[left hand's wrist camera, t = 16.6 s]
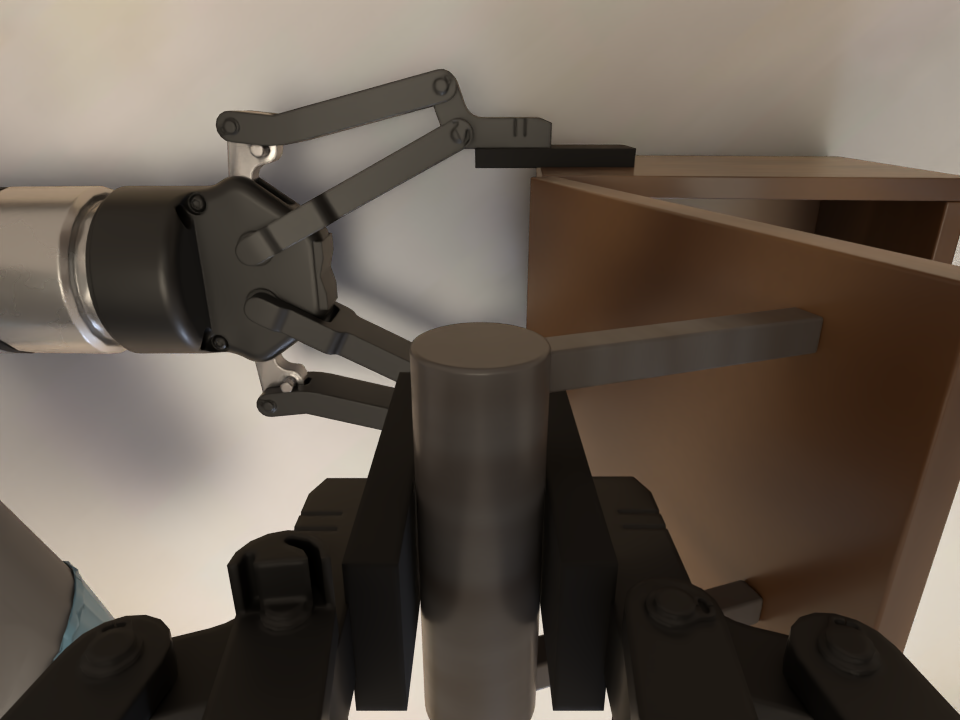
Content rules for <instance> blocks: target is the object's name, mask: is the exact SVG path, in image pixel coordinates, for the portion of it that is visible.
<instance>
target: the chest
mask: <svg viewBox="0 0 960 720" xmlns="http://www.w3.org/2000/svg"><path fill="white" fill-rule="evenodd" d="M548 176H555V177H559V178H564V179H568V180H573V181H577V182H582V183H586V184H591V185H595V186H600V187H604V188H609V189H613V190H618V191H622V192H627V193H631V194H636V195H640V196H645V197H649V198H654V199H658V200H663V201H667V202H672V203H676V204H681V205H685V206H690V207H694V208H699V209H703V210H708V211H712V212H717V213H721V214H726V215H730V216H735V217H739V218H744V219H748V220H753V221H757V222H762V223H766V224H771V225H775V226H780V227H784V228H789V229H793V230H798V231H802V232H807V233H811V234H816V235H820V236H825V237H829V238H834V239H838V240H843V241H847V242H852V243H856V244H861V245H865V246H870V247H874V248H879V249H883V250H888V251H892V252H897V253H901V254H906V255H910V256H915V257H919V258H924V259H928V260H933V261H938V262H942V263H947V264H952V261H953V257H954V254H955V250H956V247H957V243H958V240H959V236H960V176H959V175H953V174H947V173H940V172H934V171H927V170H921V169H915V168H908V167H902V166H895V165H889V164H883V163H876V162H870V161H863V160H857V159H851V158H844V157H835V156H640V155H635V165H634V167H541V168H536V177H548Z"/></svg>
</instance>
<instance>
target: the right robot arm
mask: <svg viewBox="0 0 960 720" xmlns="http://www.w3.org/2000/svg"><path fill="white" fill-rule="evenodd" d="M433 106H434V109H435V112H436V114H437V117H438V120H439V122H440V125H441V126H440V127H438V128H437V129H435V130H433V131H431V132H430V133H428V134H426V135H424V136H422V137H421V138H419V139H417V140H415V141H414V142H412V143H410V144H408V145H407V146H405V147H403V148H401V149H400V150H398V151H396V152H394V153H393V154H391V155H389V156H387V157H386V158H384V159H382V160H380V161H379V162H377V163H375V164H373V165H372V166H370V167H368V168H366V169H365V170H363V171H361V172H359V173H358V174H356V175H354V176H352V177H351V178H349V179H347V180H345V181H344V182H342V183H340V184H338V185H337V186H335V187H333V188H331V189H330V190H328V191H326V192H324V193H323V194H321V195H319V196H317V197H315V198H314V199H312V200H310V201H308V202H307V203H305V204H303V205H299V204H298V203H296V202H295V201H293V200H292V199H290V198H289V197H288V196H286V195H285V194H283V193H282V192H280V191H279V190H277V189H276V188H274V187H273V186H271V185H270V184H268V183H267V182H266V181H264V180H263V179H261V178H259V171H260V169H261V167H262V166H263V165H264V164H267V163H272V162H275V161H277V160H279V158H280V157H281V156H282V153H283V145H287V144H292V143H298V142H303V141H307V140H312V139H315V138H319V137H323V136H326V135H330V134H334V133H337V132H341V131H345V130H348V129H352V128H356V127H359V126H363V125H367V124H370V123H374V122H378V121H381V120H385V119H389V118H392V117H396V116H400V115H403V114H407V113H411V112H414V111H418V110H422V109H425V108H429V107H433ZM216 128H217V132H218V133H219V135H220V136H221V137H222V138H223V139H224V140H226V141H227V146H228V169H229V177H227V178H225V179H223V180H222V181H220V182H219V183H217V184H215V185H212V186H124V187H120V188H117V189H116V190H113V189H109V188H106V187H103V186H36V187H0V353H94V354H113V353H122V352H124V351H126V350H129V351H132V352H135V353H216V352H231V353H235V354H238V355H241V356H243V357H245V358H247V359H249V360H252V361H255V363H256V367H257V371H258V375H259V378H260V382H261V386H262V390H263V393H262V394H261V396H260V397H259V398H258V400H257V408H258V410H259V412H261V413H262V414H263V415H265V416H268V417H275V416H286V415H296V414H311V415H315V416H320V417H324V418H329V419H333V420H338V421H343V422H347V423H352V424H356V425H361V426H365V427H370V428H374V429H379V430H382V428H383V425H384V422H385V418H386V415H387V412H388V408H389V405H390V402H391V399H392V395H393V392H394V389H395V388H392V387H388V386H384V385H379V384H375V383H370V382H366V381H361V380H357V379H352V378H348V377H344V376H339V375H335V374H330V373H324V372H307V370H306V369H305V367H304V366H303V365H302V364H296V363H291V362H288V361H287V360H285V359H284V358H283V356H282V354H281V353H282V352H284V351H285V350H286V349H288V348H289V347H291V346H292V345H293V344H295V343H296V342H297V341H300V342H302V343H304V344H306V345H308V346H310V347H312V348H315V349H317V350H319V351H321V352H323V353H326V354H330V355H332V354H337V355H340V356H342V357H345V358H347V359H349V360H351V361H353V362H355V363H357V364H360V365H362V366H364V367H366V368H368V369H370V370H372V371H374V372H377V373H379V374H381V375H383V376H385V377H387V378H389V379H391V380H394V381H396V382H397V379H398V375H399V372H410V346H411V344H412V342H410V341H408V340H406V339H404V338H402V337H400V336H398V335H395V334H393V333H391V332H389V331H387V330H385V329H383V328H381V327H379V326H377V325H375V324H373V323H371V322H369V321H366V320H364V319H362V318H360V317H359V316H357V315H356V314H355V312H354V311H353V310H351V309H350V308H348V307H346V306H344V305H342V304H340V303H338V302H335V300H336V299H337V298H338V296H337V285H336V280H335V277H334V275H333V272H332V269H331V260H332V254H333V240H332V233H328V231H327V229H326V226H328V225H329V224H331V223H333V222H334V221H336V220H338V219H339V218H341V217H343V216H345V215H346V214H348V213H350V212H352V211H354V210H355V209H357V208H359V207H361V206H363V205H364V204H366V203H368V202H370V201H371V200H373V199H375V198H377V197H379V196H380V195H382V194H384V193H386V192H388V191H389V190H391V189H393V188H395V187H397V186H398V185H400V184H402V183H404V182H405V181H407V180H409V179H411V178H413V177H414V176H416V175H418V174H420V173H422V172H423V171H425V170H427V169H429V168H431V167H432V166H434V165H436V164H438V163H439V162H441V161H443V160H445V159H447V158H448V157H450V156H452V155H454V154H456V153H457V152H459V151H461V150H463V149H475V168H541V167H634V165H635V153H636V148H632V147H629V146H625V145H551V131H552V123H551V122H548V121H546V120H544V119H541V118H538V117H478V116H475V115H473V114H472V113H471V112H470V111H469V110H468V109H467V107H466V105H465V102H464V100H463V97H462V94H461V91H460V88H459V85H458V82H457V80H456V78H455V77H454V76H453V75H452V74H451V73H450V72H449V71H447V70H444V69H438V70H434V71H430V72H427V73H423V74H420V75H416V76H412V77H409V78H405V79H402V80H398V81H394V82H391V83H387V84H384V85H380V86H376V87H373V88H369V89H366V90H362V91H358V92H355V93H351V94H348V95H344V96H340V97H337V98H333V99H330V100H326V101H322V102H319V103H315V104H312V105H308V106H304V107H301V108H297V109H294V110H290V111H287V112H283V113H279V114H278V113H269V112H259V111H224V112H223V113H221V114H220V115H219V116H218V118H217V121H216ZM110 620H114V618H113V616H112V615H111V614H110V613H109V611H108V610H107V609H106V608H105V606H104V605H103V604H102V603H101V601H100V600H99V599H98V598H97V596H96V595H95V594H94V593H93V592H92V590H91V589H90V588H89V587H88V585H87V584H86V583H85V582H84V580H83V579H82V577H81V575H80V574H79V572H78V569H76V568H75V567H73V566H72V565H71V563H70V562H69V561H62V560H61V559H60V558H59V557H58V556H57V555H56V554H55V553H53V552H52V551H51V550H50V549H49V548H48V547H47V546H46V545H45V544H44V543H43V542H42V541H41V540H40V539H39V538H38V537H37V536H36V535H35V534H34V533H33V532H32V531H31V530H30V529H29V528H28V527H27V526H26V525H25V524H24V523H23V522H22V521H21V520H20V519H19V518H18V517H17V516H16V515H15V514H14V513H13V512H12V511H11V510H9V509H8V508H7V507H6V506H5V505H4V504H3V503H2V502H1V501H0V719H1V718H2V716H3V715H4V714H5V713H6V712H7V711H8V710H9V709H10V708H11V707H12V706H13V705H14V703H15V702H16V701H17V700H18V699H19V698H20V697H21V696H22V695H23V694H24V693H25V692H26V690H27V689H28V688H29V687H30V686H31V685H32V684H33V683H34V682H35V681H36V680H37V679H38V678H39V676H40V675H41V674H42V673H43V672H44V671H45V670H46V669H47V668H48V667H49V666H50V665H51V663H52V662H53V661H54V660H55V659H56V658H57V657H58V656H59V655H60V654H61V653H62V652H63V651H64V649H65V648H67V647H68V646H69V645H70V644H71V643H72V642H74V641H75V640H76V639H77V638H78V637H80V636H81V635H82V634H83V633H85V632H87V631H89V630H91V629H93V628H95V627H96V626H98V625H100V624H102V623H104V622H107V621H110Z"/></svg>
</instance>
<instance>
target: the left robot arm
mask: <svg viewBox="0 0 960 720" xmlns="http://www.w3.org/2000/svg"><path fill="white" fill-rule="evenodd" d="M227 568H228V573H229V579H230V584H231V589H232V595H233V600H234V606H235V611H236V617H235V619H233V620H231V621H229V622H227V623H224V624H221V625H218V626H215V627H212V628H209V629H205V630H201V631H197V632H193V633H189V634H184V635H180V636H176V637H171V633H170V629H169V628H168V627H167V626H166V625H165V624H164V622H163V621H162V620H161V619H158V618H154V617H151V616H148V615H134V616H124V617H121V618H117V619H114V620H110V621H107V622H104V623H102V624H100V625H98V626H96V627H95V628H93V629H91V630H89V631H87V632H85V633H83V634H82V635H81V636H80V637H78V638H77V639H76V640H75V641H74V642H72V643H71V644H70V645H69V646H68V647H67V648H65V649H64V651H63V652H62V653H61V654H60V655H59V656H58V657H57V658H56V659H55V660H54V661H53V662H52V663H51V665H50V666H49V667H48V668H47V669H46V670H45V671H44V672H43V673H42V674H41V675H40V676H39V678H38V679H37V680H36V681H35V682H34V683H33V684H32V685H31V686H30V687H29V688H28V689H27V690H26V692H25V693H24V694H23V695H22V696H21V697H20V698H19V699H18V700H17V701H16V702H15V703H14V705H13V706H12V707H11V708H10V709H9V710H8V711H7V712H6V713H5V714H4V715H3V716H2V718H1V719H0V720H348V715H349V710H350V706H351V701H352V696H353V692H355V702H356V711H407V706H408V697H409V689H410V681H411V673H412V664H413V656H414V648H415V639H416V631H417V623H418V615H419V606H420V579H419V556H418V533H417V510H416V487H415V464H414V441H413V418H412V395H411V372H399V375H398V379H397V382H396V385H395V389H394V392H393V395H392V399H391V402H390V405H389V408H388V412H387V415H386V418H385V422H384V425H383V428H382V432H381V435H380V438H379V441H378V445H377V448H376V451H375V455H374V458H373V461H372V465H371V468H370V471H369V475H368V478H327V479H325V480H324V481H323V482H322V483H321V484H320V485H319V486H317V487H316V488H315V489H314V490H313V491H312V492H311V493H309V495H308V497H307V500H306V502H305V504H304V506H303V509H302V511H301V516H299V518H298V520H297V522H296V525H295V527H294V531H291V530H287V531H281V532H276V533H270V534H267V535H264V536H262V537H260V538H257V539H255V540H253V541H250V542H249V543H248V544H246V545H245V546H244V547H242V548H241V549H240V550H238V551H237V552H236V553H235V554H234V556H233V557H232V559H231V560H230V562H229V563H228V565H227ZM540 606H541V615H542V623H543V631H544V640H545V648H546V656H547V664H548V673H549V681H550V689H551V697H552V706H553V711H604V702H605V692H606V689H607V693H608V698H609V702H610V707H611V712H612V720H960V715H959V714H958V712H957V711H956V710H955V709H954V708H953V707H952V706H951V705H950V704H949V703H948V702H947V701H946V700H945V698H944V697H943V696H942V695H941V694H940V693H939V692H938V691H937V690H936V689H935V688H934V687H933V686H932V685H931V683H930V682H929V681H928V680H927V679H926V678H925V677H924V676H923V675H922V674H921V673H920V672H919V671H918V670H917V668H916V667H915V666H914V665H913V664H912V663H911V662H910V661H909V660H908V659H907V658H906V657H905V656H904V654H903V653H902V652H901V651H900V650H899V649H898V648H897V647H896V646H895V645H894V644H893V643H891V642H890V641H889V640H888V639H887V638H885V637H884V636H883V635H882V634H881V633H880V632H878V631H877V630H875V629H873V628H871V627H869V626H867V625H865V624H864V623H862V622H860V621H858V620H856V619H852V618H849V617H845V616H842V615H839V614H835V613H817V612H815V613H811V614H808V615H805V616H801V617H799V618H798V619H797V621H796V622H795V623H794V624H793V625H792V626H791V629H790V633H789V635H786V634H782V633H778V632H774V631H769V630H765V629H761V628H757V627H753V626H749V625H746V624H743V623H740V622H737V621H734V620H732V619H730V618H728V617H726V616H724V613H723V612H722V610H721V608H720V607H719V605H718V603H717V601H716V600H715V599H714V598H713V597H711V596H710V595H709V594H708V593H707V592H705V591H704V590H703V589H702V588H700V587H698V586H695V585H693V584H692V583H691V581H690V578H689V576H688V574H687V572H686V569H685V567H684V565H683V563H682V560H681V558H680V556H679V554H678V551H677V549H676V547H675V545H674V542H673V540H672V538H671V535H670V533H669V531H668V529H666V524H665V522H664V520H663V517H662V515H661V514H659V508H658V506H657V504H656V502H655V499H654V497H653V495H652V493H651V491H650V490H648V489H647V488H646V487H645V486H644V485H643V484H642V483H640V482H639V481H638V480H637V479H636V478H635V477H633V476H592V475H591V471H590V468H589V465H588V461H587V458H586V455H585V451H584V448H583V445H582V442H581V438H580V435H579V432H578V428H577V425H576V422H575V418H574V415H573V412H572V408H571V405H570V402H569V399H568V395H567V392H566V390H565V391H559V392H552V393H549V412H548V434H547V456H546V478H545V500H544V522H543V544H542V566H541V588H540Z"/></svg>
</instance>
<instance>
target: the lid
mask: <svg viewBox="0 0 960 720" xmlns="http://www.w3.org/2000/svg"><path fill="white" fill-rule="evenodd" d="M410 372H411V395H412V418H413V441H414V464H415V487H416V510H417V533H418V556H419V579H420V602H421V624H422V647H423V670H424V693H425V707H426V711H427V714H428V717H429V719H430V720H530V719H531V718H532V715H533V712H534V708H535V699H536V691H537V690H540V689H544V688H547V687H550V681H549V673H548V664H547V656H546V648H545V640H544V635H540V636H538V632H539V610H540V588H541V566H542V544H543V522H544V500H545V478H546V456H547V434H548V412H549V393H552V392H559V391H565V390H566V392H567V395H568V399H569V402H570V405H571V408H572V412H573V415H574V418H575V422H576V425H577V428H578V432H579V435H580V438H581V442H582V445H583V448H584V451H585V455H586V458H587V461H588V465H589V468H590V471H591V475H592V476H633V477H635V478H636V479H637V480H638V481H639V482H640V483H642V484H643V485H644V486H645V487H646V488H647V489H648V490H650V491H651V493H652V495H653V497H654V499H655V502H656V504H657V506H658V508H659V514H661V515H662V517H663V520H664V522H665V524H666V529H668V531H669V533H670V535H671V538H672V540H673V542H674V545H675V547H676V549H677V551H678V554H679V556H680V558H681V560H682V563H683V565H684V567H685V569H686V572H687V574H688V576H689V578H690V581H691V583H692V584H693V585H695V586H698V587H700V588H702V589H703V590H704V591H705V592H707V593H708V594H709V595H710V596H711V597H713V598H714V599H715V600H716V601H717V603H718V605H719V607H720V608H721V610H722V612H723V613H724V616H726V617H728V618H730V619H732V620H734V621H737V622H740V623H743V624H746V625H749V626H753V627H757V628H761V629H765V630H769V631H774V632H778V633H782V634H786V635H789V633H790V629H791V626H792V625H793V624H794V623H795V622H796V621H797V619H798V618H799V617H801V616H805V615H808V614H811V613H815V612H817V613H835V614H839V615H842V616H845V617H849V618H852V619H856V620H858V621H860V622H862V623H864V624H865V625H867V626H869V627H871V628H873V629H875V630H877V631H878V632H880V633H881V634H882V635H883V636H884V637H885V638H887V639H888V640H889V641H890V642H891V643H893V644H894V645H895V646H896V647H897V648H898V649H899V650H900V651H901V652H902V653H903V651H904V648H905V645H906V642H907V639H908V636H909V633H910V630H911V627H912V624H913V621H914V618H915V615H916V612H917V609H918V606H919V603H920V600H921V597H922V594H923V591H924V588H925V585H926V582H927V578H928V575H929V572H930V569H931V566H932V563H933V560H934V557H935V554H936V551H937V548H938V545H939V542H940V539H941V536H942V533H943V530H944V527H945V524H946V521H947V518H948V515H949V512H950V509H951V506H952V503H953V499H954V496H955V493H956V490H957V487H958V484H959V481H960V266H956V265H951V264H947V263H942V262H938V261H933V260H928V259H924V258H919V257H915V256H910V255H906V254H901V253H897V252H892V251H888V250H883V249H879V248H874V247H870V246H865V245H861V244H856V243H852V242H847V241H843V240H838V239H834V238H829V237H825V236H820V235H816V234H811V233H807V232H802V231H798V230H793V229H789V228H784V227H780V226H775V225H771V224H766V223H762V222H757V221H753V220H748V219H744V218H739V217H735V216H730V215H726V214H721V213H717V212H712V211H708V210H703V209H699V208H694V207H690V206H685V205H681V204H676V203H672V202H667V201H663V200H658V199H654V198H649V197H645V196H640V195H636V194H631V193H627V192H622V191H618V190H613V189H609V188H604V187H600V186H595V185H591V184H586V183H582V182H577V181H573V180H568V179H564V178H559V177H555V176H548V177H532V178H531V187H530V221H529V255H528V290H527V324H526V328H522V327H518V326H514V325H508V324H501V323H487V322H473V323H460V324H453V325H447V326H443V327H439V328H435V329H432V330H429V331H427V332H425V333H423V334H421V335H419V336H418V337H416V338H415V339H414V340H413V342H412V344H411V346H410Z"/></svg>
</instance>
